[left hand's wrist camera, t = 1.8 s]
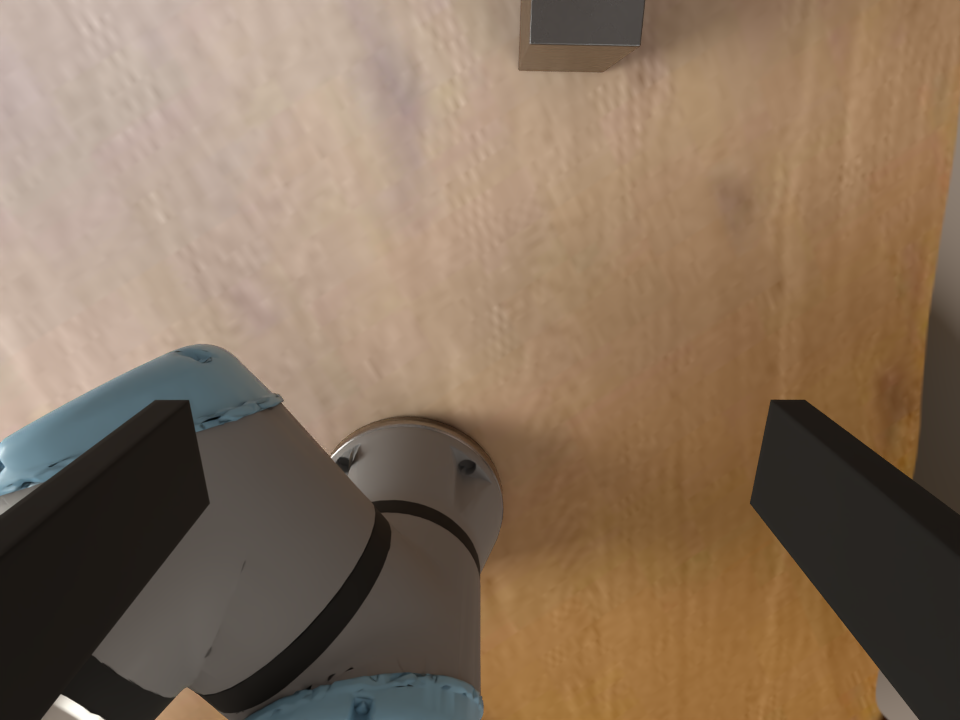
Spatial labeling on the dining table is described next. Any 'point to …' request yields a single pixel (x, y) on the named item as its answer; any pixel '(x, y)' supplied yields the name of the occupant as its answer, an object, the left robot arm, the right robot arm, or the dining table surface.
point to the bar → (578, 34)
